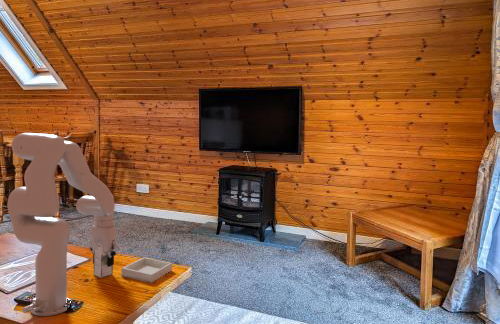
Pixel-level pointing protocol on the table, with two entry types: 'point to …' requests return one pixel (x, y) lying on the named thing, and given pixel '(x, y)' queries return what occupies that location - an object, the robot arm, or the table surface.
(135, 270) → the tray
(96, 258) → the syrup box
